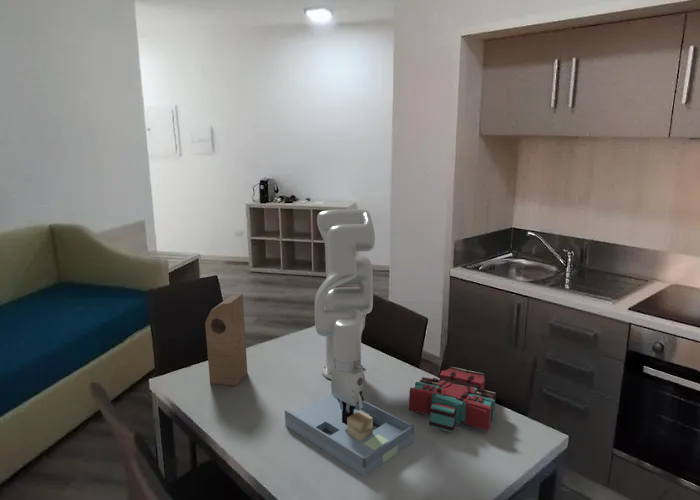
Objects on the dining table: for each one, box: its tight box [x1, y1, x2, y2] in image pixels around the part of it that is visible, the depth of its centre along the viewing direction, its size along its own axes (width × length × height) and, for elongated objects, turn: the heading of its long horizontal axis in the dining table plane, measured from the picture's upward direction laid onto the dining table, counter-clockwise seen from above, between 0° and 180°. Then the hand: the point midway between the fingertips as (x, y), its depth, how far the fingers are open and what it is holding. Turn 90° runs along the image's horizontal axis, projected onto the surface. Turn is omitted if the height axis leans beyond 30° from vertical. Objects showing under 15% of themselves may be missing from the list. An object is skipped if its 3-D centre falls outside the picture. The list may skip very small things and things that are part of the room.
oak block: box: [347, 411, 373, 441], centre depth 137 cm, size 5×5×5 cm
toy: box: [408, 366, 497, 434], centre depth 152 cm, size 24×9×30 cm
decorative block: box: [204, 293, 248, 387], centre depth 170 cm, size 10×10×30 cm
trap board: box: [284, 393, 415, 477], centre depth 141 cm, size 20×32×5 cm, turn 45°
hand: (348, 421), depth 141 cm, fingers closed
